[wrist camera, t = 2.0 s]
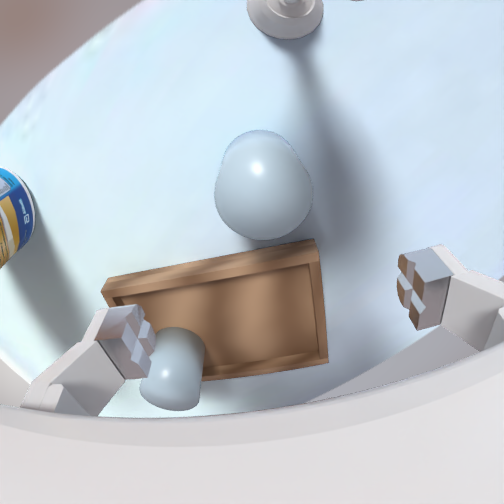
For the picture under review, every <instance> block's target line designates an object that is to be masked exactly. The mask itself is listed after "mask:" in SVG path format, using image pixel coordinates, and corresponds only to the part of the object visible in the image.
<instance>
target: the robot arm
mask: <svg viewBox="0 0 504 504" xmlns="http://www.w3.org/2000/svg"><path fill="white" fill-rule="evenodd" d="M398 267H399V269H400V270H401V273H400V275H399V276H398V278H397V291H398V296H399V299H400V302H401V304H402V305H403V307H405V308H407V309H409V310H410V311H409V318H410V319H411V321H412V323H413V325H414V326H415V328H416V330H417V331H418V330H422V329H425V328H429V327H433V326H436V325H440V324H441V326H442V327H444V328H445V329H447V330H448V331H450V332H451V333H453V334H454V335H456V336H457V337H459V338H460V339H462V340H463V341H465V342H466V343H468V344H469V345H471V346H472V347H474V348H475V349H477V350H478V351H480V352H478V353H476V354H474V355H471V356H468V357H466V358H463V359H461V360H458V361H456V362H453V363H450V364H448V365H445V366H442V367H439V368H436V369H434V370H431V371H428V372H425V373H422V374H419V375H416V376H413V377H410V378H406V379H403V380H400V381H396V382H393V383H390V384H386V385H382V386H379V387H375V388H371V389H367V390H364V391H360V392H355V393H351V394H347V395H343V396H338V397H334V398H329V399H324V400H320V401H315V402H309V403H304V404H298V405H292V406H286V407H280V408H273V409H266V410H258V411H250V412H242V413H232V414H221V415H209V416H193V417H169V418H123V417H99V416H98V415H99V413H100V412H101V411H102V410H103V408H104V407H105V406H106V405H107V403H108V402H109V401H110V400H111V398H112V397H113V396H114V395H115V393H116V392H117V391H118V390H119V388H120V387H121V386H122V385H123V383H124V382H125V380H126V379H139V378H148V375H149V371H150V367H151V363H152V362H151V360H150V358H149V357H150V356H151V354H152V353H153V352H154V351H155V347H156V336H155V333H154V330H153V328H152V326H151V324H150V323H148V322H147V321H145V320H144V316H145V313H144V311H143V309H142V307H141V306H140V305H138V304H134V305H126V306H118V307H112V308H103V309H99V310H97V311H96V313H95V315H94V317H93V319H92V321H91V323H90V325H89V327H88V329H87V331H86V333H85V335H84V337H83V339H82V341H81V342H77V343H76V344H75V345H74V346H73V347H71V348H70V349H69V350H68V351H67V352H66V353H64V354H63V355H62V356H61V357H60V358H59V359H57V360H56V361H55V362H54V363H53V364H52V365H50V366H49V367H48V368H47V369H46V370H45V371H43V372H42V373H41V374H40V375H39V376H38V377H37V378H35V379H34V380H33V381H32V382H31V384H30V386H29V389H28V391H27V393H26V395H25V397H24V399H23V402H22V404H21V406H20V408H18V407H13V406H7V405H2V404H0V504H504V283H503V282H501V281H499V280H496V279H494V278H491V277H489V276H486V275H484V274H481V273H478V272H476V271H473V270H471V271H468V270H467V269H466V268H465V267H464V266H463V265H462V264H461V262H460V261H459V260H458V259H457V258H456V257H455V256H454V255H453V254H452V253H451V252H450V251H449V250H448V249H447V248H446V247H445V246H444V245H442V244H439V245H436V246H432V247H428V248H426V249H422V250H418V251H414V252H409V253H405V254H401V255H400V256H399V259H398Z"/></svg>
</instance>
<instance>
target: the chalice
mask: <svg viewBox="0 0 504 504" xmlns="http://www.w3.org/2000/svg"><path fill="white" fill-rule="evenodd" d="M352 1H362V0H352ZM247 11H248V14H249V17H250V20H251V21H252V22H253V23H254V25H255V26H256V27H257V28H258V29H259V30H261V31H262V32H264V33H265V34H267V35H269V36H272V37H275V38H278V39H295V38H300V37H303V36H305V35H307V34H309V33H311V32H312V31H313V30H314V29H315V28H316V27H317V26H318V25H319V24H320V21H321V19H322V17H323V2H322V0H247Z"/></svg>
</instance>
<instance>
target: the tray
mask: <svg viewBox="0 0 504 504" xmlns="http://www.w3.org/2000/svg"><path fill="white" fill-rule="evenodd" d="M101 293H102V295H103V297H104V299H105V300H106V302H107V304H108V306H109V308H112V307H118V306H126V305H134V304H138V305H140V306H141V307H142V309H143V311H144V313H145V316H144V320H145V321H147V322H148V323H150V324H151V326H152V328H153V330H154V333H155V334H156V333H157V332H158V331H159V330H161V329H163V328H167V327H180V328H184V329H187V330H190V331H192V332H194V333H195V334H197V335H198V336H199V337H200V338H201V339H202V341H203V342H204V345H205V354H204V362H203V371H202V379H201V381H211V380H221V379H230V378H238V377H246V376H254V375H261V374H268V373H274V372H281V371H287V370H293V369H298V368H304V367H309V366H315V365H320V364H325V363H328V348H327V334H326V321H325V309H324V298H323V287H322V277H321V268H320V259H319V251H318V249H317V246H316V243H315V241H314V239H309V240H304V241H299V242H294V243H288V244H283V245H278V246H273V247H267V248H262V249H257V250H252V251H246V252H241V253H236V254H230V255H225V256H220V257H215V258H209V259H204V260H199V261H194V262H189V263H183V264H178V265H173V266H168V267H162V268H157V269H152V270H147V271H141V272H136V273H131V274H126V275H121V276H115V277H110V278H108V279H107V281H106V283H105V284H104V286H103V288H102V290H101Z"/></svg>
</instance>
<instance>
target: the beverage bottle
mask: <svg viewBox="0 0 504 504" xmlns="http://www.w3.org/2000/svg"><path fill="white" fill-rule="evenodd" d="M34 224H35V211H34V206H33V202H32V199H31V196H30V193H29V191H28V189H27V187H26V186H25V184H24V183H23V181H22V180H21V179H20V178H19V177H18V176H17V175H16V174H15V173H14V172H12V171H11V170H9V169H7V168H4V167H0V269H1V268H2V266H3V265H4V264H5V263H6V262H7V261H8V260H9V259H10V258H11V257H12V256H13V255H14V254H15V253H16V252H17V251H18V250H19V249H21V248H22V247H23V246H24V245H25V244H26V243H27V242H28V240H29V239H30V237H31V235H32V233H33V230H34Z"/></svg>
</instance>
